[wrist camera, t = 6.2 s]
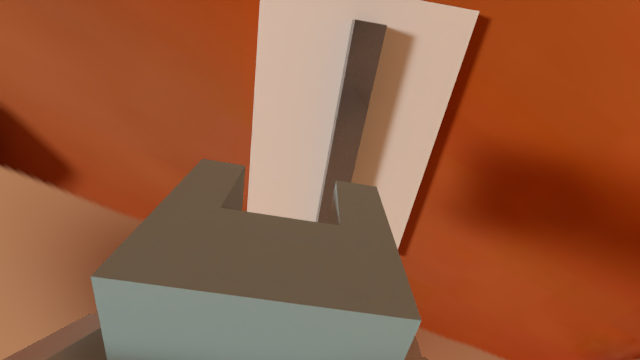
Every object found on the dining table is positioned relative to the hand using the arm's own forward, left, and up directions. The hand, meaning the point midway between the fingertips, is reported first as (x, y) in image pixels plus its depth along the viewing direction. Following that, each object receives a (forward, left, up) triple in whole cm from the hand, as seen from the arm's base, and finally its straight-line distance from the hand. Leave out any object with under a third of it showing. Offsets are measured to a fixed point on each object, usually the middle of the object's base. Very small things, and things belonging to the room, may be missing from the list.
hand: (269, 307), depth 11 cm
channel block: (0, 0, -3) cm, 3 cm away
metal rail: (0, +3, -18) cm, 19 cm away
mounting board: (0, +3, -20) cm, 20 cm away
